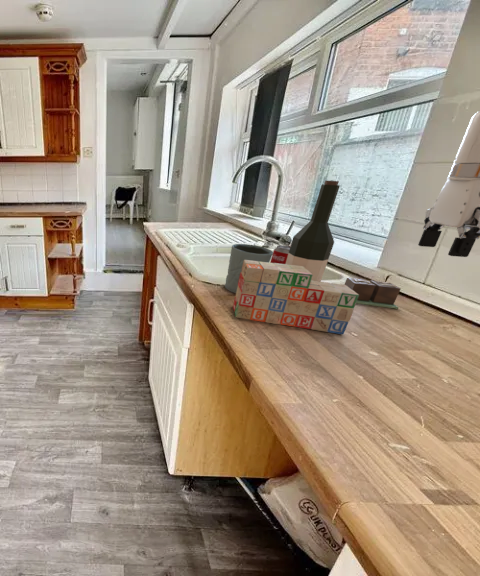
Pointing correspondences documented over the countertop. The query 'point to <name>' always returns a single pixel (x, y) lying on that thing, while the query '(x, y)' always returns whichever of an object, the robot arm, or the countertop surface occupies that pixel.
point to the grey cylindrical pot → (237, 259)
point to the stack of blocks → (292, 298)
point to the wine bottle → (315, 235)
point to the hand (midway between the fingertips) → (440, 250)
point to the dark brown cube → (360, 288)
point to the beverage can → (280, 254)
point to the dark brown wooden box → (384, 292)
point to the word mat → (376, 304)
